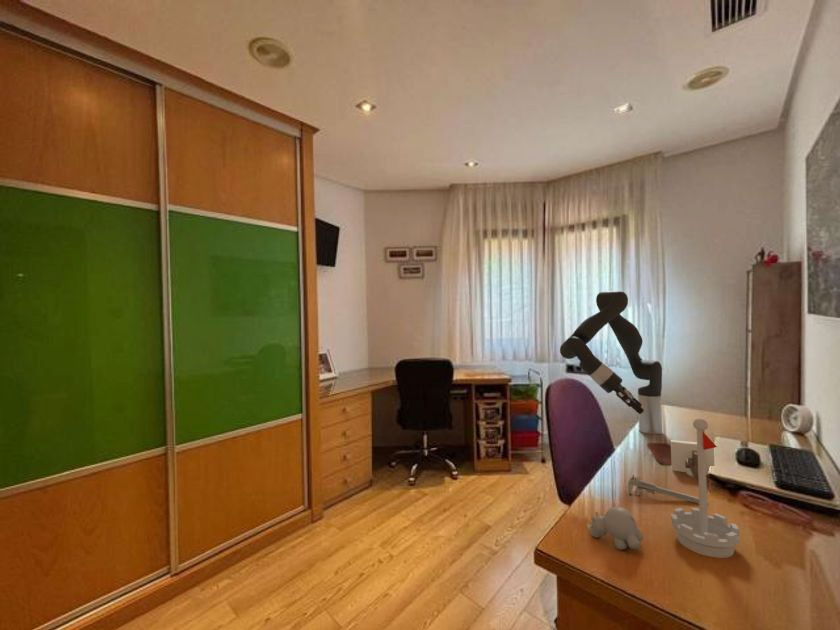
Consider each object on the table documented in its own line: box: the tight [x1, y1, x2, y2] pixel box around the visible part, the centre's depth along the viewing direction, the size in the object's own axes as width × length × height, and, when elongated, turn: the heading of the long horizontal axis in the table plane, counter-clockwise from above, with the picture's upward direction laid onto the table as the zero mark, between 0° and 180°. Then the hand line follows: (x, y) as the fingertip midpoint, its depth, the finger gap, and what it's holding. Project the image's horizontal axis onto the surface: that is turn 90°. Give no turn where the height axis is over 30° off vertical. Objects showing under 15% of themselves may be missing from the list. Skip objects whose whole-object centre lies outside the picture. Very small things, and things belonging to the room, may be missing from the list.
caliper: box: [627, 474, 710, 506], centre depth 113 cm, size 20×1×6 cm, turn 69°
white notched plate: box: [670, 439, 715, 476], centre depth 132 cm, size 2×12×10 cm, turn 64°
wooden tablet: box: [646, 442, 690, 469], centre depth 149 cm, size 27×10×2 cm, turn 160°
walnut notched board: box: [687, 451, 699, 480], centre depth 131 cm, size 12×2×8 cm, turn 154°
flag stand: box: [670, 417, 740, 559], centre depth 91 cm, size 13×13×30 cm
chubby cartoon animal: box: [586, 506, 644, 551], centre depth 93 cm, size 7×12×8 cm, turn 46°
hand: (641, 409), depth 141 cm, fingers open, 8 cm apart
